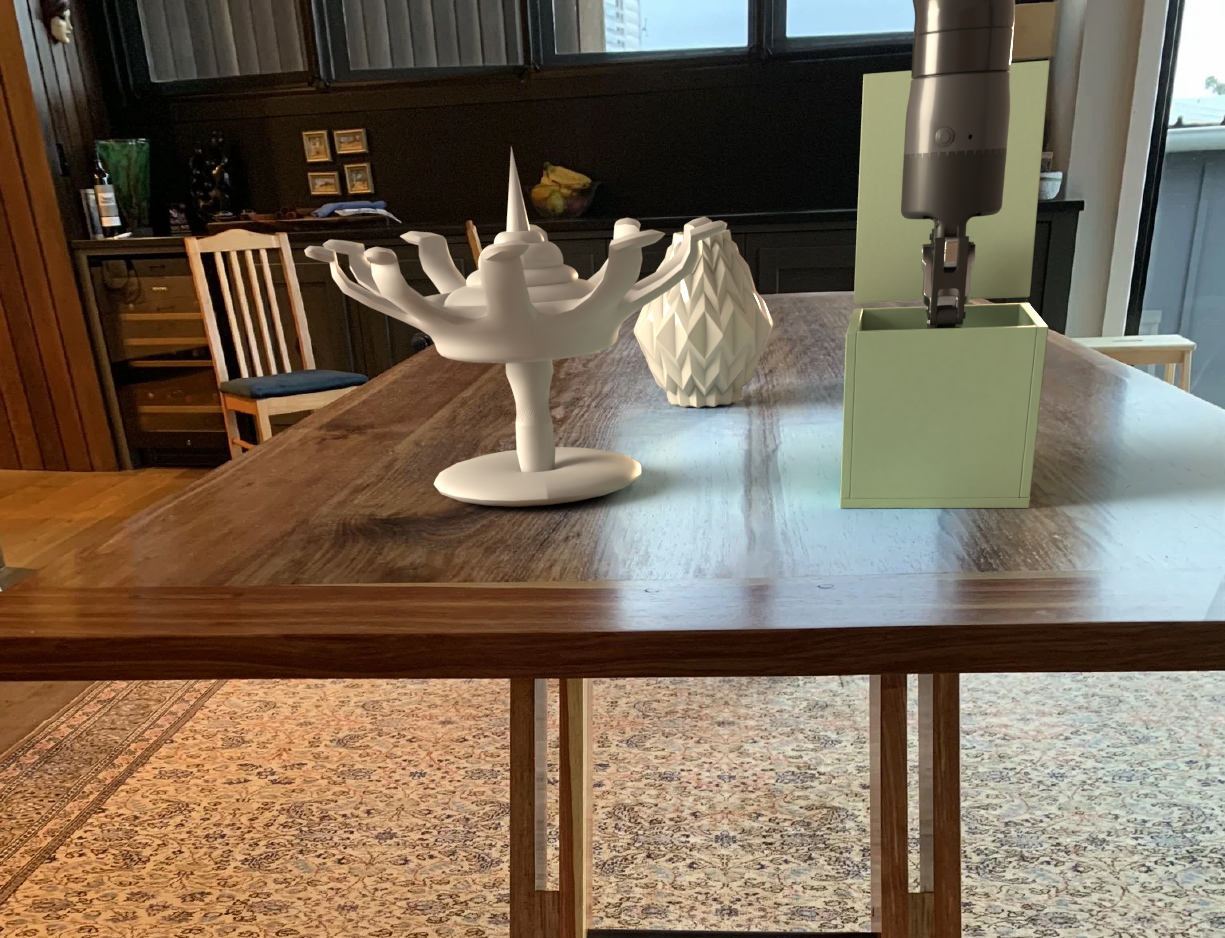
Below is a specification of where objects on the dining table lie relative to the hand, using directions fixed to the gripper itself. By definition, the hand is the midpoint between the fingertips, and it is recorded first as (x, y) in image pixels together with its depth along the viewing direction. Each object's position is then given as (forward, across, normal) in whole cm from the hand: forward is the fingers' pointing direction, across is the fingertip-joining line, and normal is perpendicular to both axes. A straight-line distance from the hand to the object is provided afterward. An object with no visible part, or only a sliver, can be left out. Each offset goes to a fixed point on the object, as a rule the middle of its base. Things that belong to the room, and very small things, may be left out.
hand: (939, 373), depth 99 cm
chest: (+9, +1, 0) cm, 9 cm away
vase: (+9, +43, +26) cm, 51 cm away
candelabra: (+9, 0, +35) cm, 36 cm away
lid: (-13, +10, 0) cm, 17 cm away
